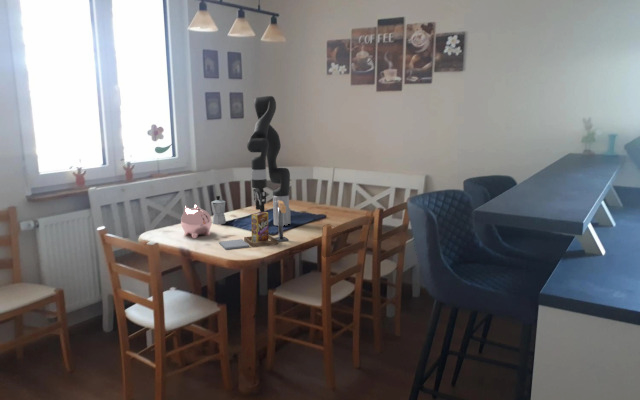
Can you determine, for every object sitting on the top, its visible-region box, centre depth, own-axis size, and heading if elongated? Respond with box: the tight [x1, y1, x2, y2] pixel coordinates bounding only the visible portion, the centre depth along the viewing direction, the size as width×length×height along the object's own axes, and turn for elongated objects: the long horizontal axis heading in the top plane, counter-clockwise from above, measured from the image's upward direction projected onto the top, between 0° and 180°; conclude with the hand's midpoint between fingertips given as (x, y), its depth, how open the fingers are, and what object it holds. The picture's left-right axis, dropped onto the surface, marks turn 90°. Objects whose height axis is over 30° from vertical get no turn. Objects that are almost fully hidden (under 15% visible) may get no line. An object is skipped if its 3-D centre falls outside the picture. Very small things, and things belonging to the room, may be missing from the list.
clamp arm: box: [277, 200, 286, 213], centre depth 252 cm, size 21×3×3 cm, turn 10°
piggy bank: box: [180, 204, 213, 239], centre depth 275 cm, size 15×18×16 cm
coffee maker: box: [210, 195, 227, 225], centre depth 301 cm, size 15×9×18 cm, turn 161°
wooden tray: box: [243, 234, 279, 248], centre depth 259 cm, size 14×14×2 cm
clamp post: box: [274, 207, 289, 243], centre depth 262 cm, size 6×6×18 cm
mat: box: [218, 238, 250, 251], centre depth 254 cm, size 12×14×1 cm
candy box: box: [251, 211, 269, 242], centre depth 258 cm, size 9×4×15 cm, turn 145°
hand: (260, 210), depth 257 cm, fingers open, 6 cm apart
